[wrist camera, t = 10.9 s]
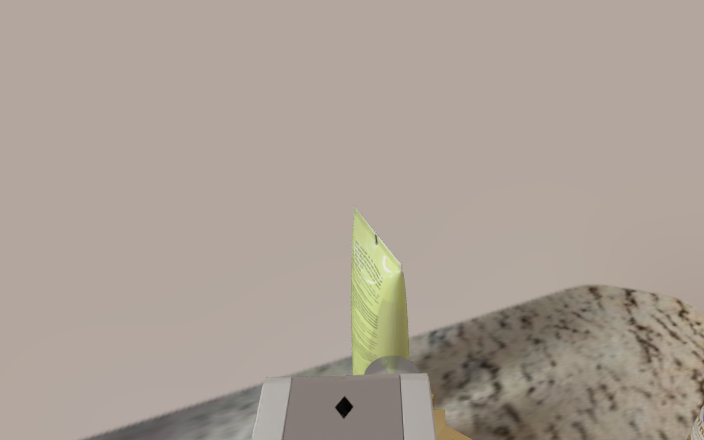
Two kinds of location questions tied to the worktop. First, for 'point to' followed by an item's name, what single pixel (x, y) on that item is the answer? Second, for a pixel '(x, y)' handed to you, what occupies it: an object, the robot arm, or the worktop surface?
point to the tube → (376, 299)
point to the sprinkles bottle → (698, 427)
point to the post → (391, 366)
